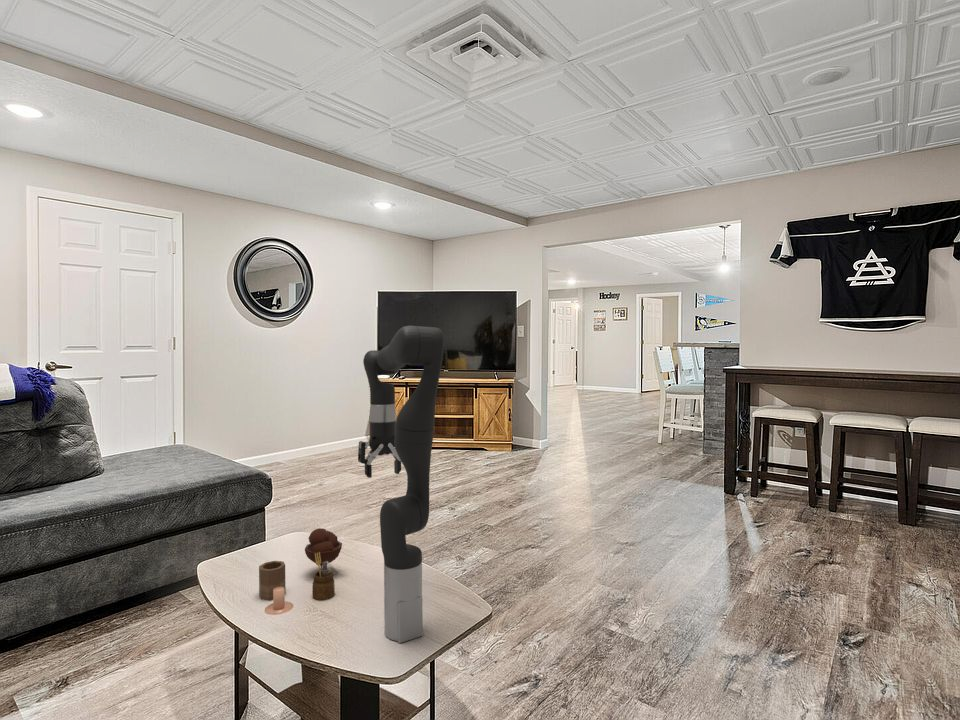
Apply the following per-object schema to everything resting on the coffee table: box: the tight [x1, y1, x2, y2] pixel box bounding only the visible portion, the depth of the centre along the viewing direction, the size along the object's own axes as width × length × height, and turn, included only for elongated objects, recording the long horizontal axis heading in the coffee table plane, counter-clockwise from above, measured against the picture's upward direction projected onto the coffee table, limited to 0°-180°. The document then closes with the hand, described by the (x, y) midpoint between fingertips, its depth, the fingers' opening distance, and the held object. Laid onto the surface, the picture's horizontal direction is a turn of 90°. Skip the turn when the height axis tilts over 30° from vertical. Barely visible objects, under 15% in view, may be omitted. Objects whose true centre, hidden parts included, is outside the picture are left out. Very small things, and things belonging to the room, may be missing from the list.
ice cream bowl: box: [304, 527, 343, 571], centre depth 163 cm, size 11×11×15 cm
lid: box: [263, 587, 294, 616], centre depth 142 cm, size 7×7×6 cm
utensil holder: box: [311, 552, 336, 602], centre depth 149 cm, size 6×6×12 cm
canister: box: [258, 560, 286, 601], centre depth 150 cm, size 6×6×9 cm
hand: (383, 475), depth 155 cm, fingers open, 8 cm apart
